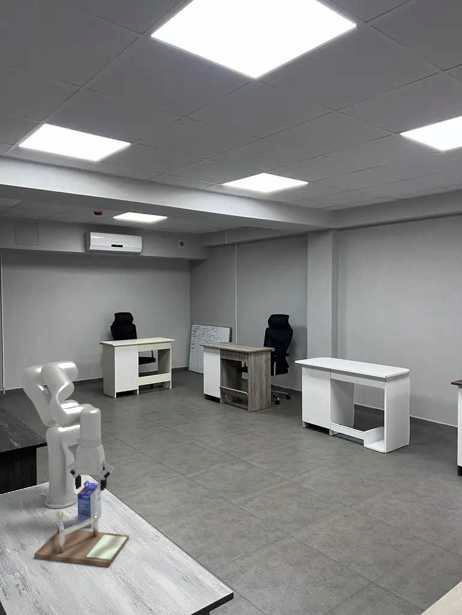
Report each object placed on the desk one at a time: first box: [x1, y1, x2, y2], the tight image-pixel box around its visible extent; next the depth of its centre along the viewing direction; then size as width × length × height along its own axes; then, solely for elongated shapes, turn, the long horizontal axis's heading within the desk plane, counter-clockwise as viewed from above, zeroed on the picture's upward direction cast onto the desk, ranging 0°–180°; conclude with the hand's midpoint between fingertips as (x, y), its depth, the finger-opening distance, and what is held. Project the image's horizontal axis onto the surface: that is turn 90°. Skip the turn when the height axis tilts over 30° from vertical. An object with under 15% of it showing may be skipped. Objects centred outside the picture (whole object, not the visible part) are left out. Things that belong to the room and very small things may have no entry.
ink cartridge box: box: [76, 479, 102, 528], centre depth 170 cm, size 10×6×14 cm, turn 174°
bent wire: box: [56, 511, 99, 553], centre depth 152 cm, size 15×13×7 cm
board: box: [34, 527, 130, 568], centre depth 151 cm, size 25×16×2 cm, turn 81°
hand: (90, 488), depth 169 cm, fingers open, 9 cm apart
